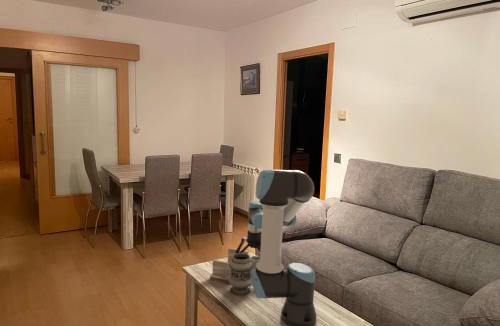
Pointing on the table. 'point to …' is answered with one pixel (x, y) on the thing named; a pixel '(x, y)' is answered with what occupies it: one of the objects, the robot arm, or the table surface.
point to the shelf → (223, 268)
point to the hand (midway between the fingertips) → (252, 268)
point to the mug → (254, 262)
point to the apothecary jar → (240, 274)
